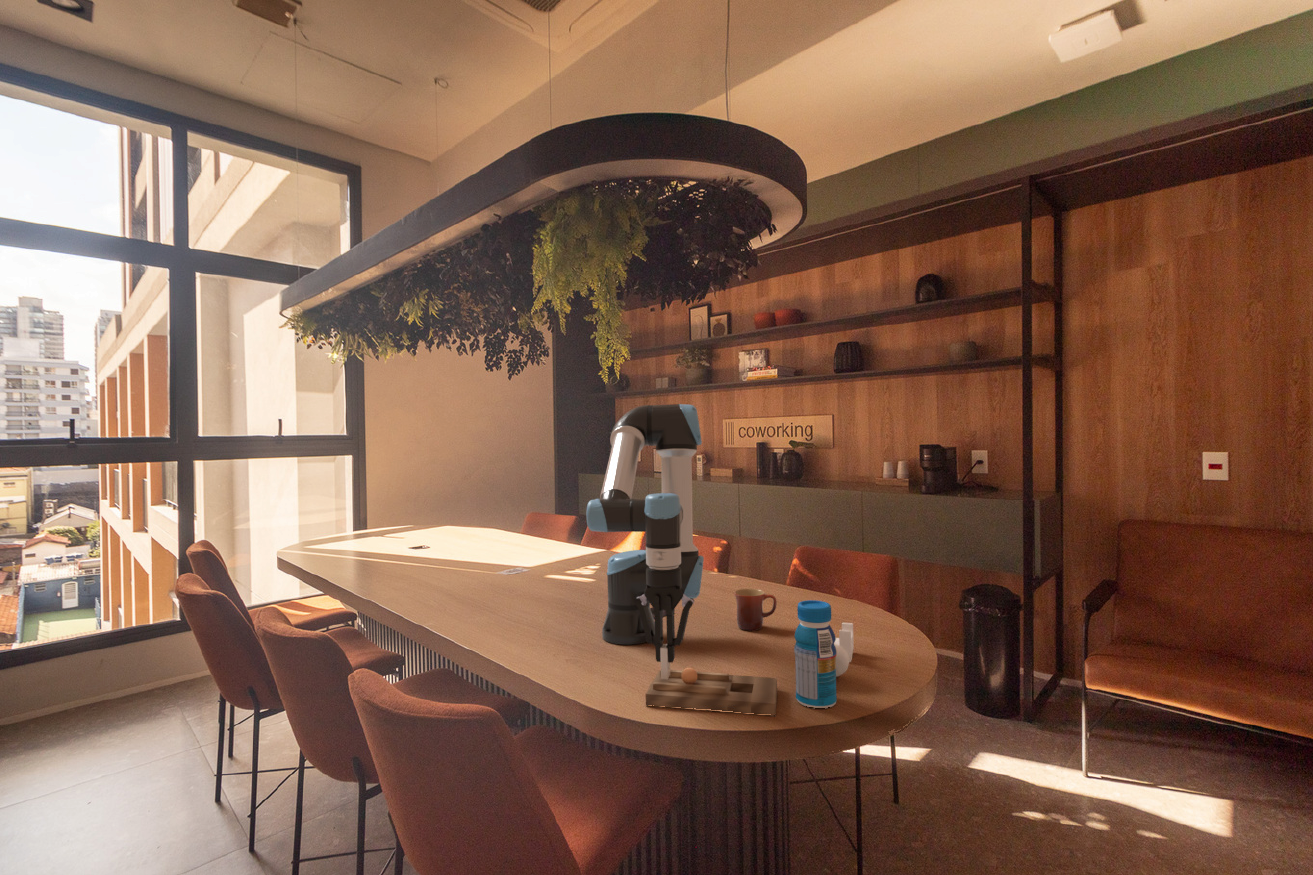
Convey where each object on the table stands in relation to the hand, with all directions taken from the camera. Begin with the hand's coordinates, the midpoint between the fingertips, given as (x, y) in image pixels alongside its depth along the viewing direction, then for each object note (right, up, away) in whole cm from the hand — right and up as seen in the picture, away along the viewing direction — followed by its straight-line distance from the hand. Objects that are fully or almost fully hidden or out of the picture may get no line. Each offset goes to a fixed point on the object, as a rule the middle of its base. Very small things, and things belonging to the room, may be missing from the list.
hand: (665, 676), depth 129 cm
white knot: (+35, -4, +6) cm, 36 cm away
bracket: (+40, -4, +22) cm, 46 cm away
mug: (+27, -4, +44) cm, 52 cm away
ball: (+5, 0, -1) cm, 5 cm away
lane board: (+10, -4, -2) cm, 11 cm away
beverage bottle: (+31, -3, -5) cm, 31 cm away
